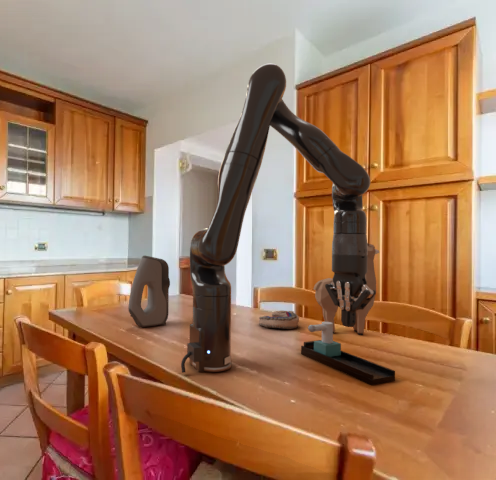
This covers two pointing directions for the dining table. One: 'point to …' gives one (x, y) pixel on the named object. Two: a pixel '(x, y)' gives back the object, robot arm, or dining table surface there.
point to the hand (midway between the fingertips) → (348, 326)
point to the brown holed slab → (150, 292)
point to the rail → (351, 365)
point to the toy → (327, 303)
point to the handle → (326, 340)
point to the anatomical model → (280, 320)
